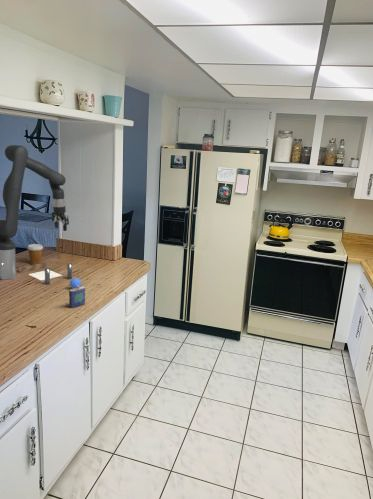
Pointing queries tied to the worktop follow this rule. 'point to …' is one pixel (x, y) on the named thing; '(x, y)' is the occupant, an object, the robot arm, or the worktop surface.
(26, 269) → the stopper wall
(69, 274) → the right post
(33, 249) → the disposable coffee cup
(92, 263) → the worktop surface
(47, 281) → the left post
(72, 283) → the ball
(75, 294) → the flask
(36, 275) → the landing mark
